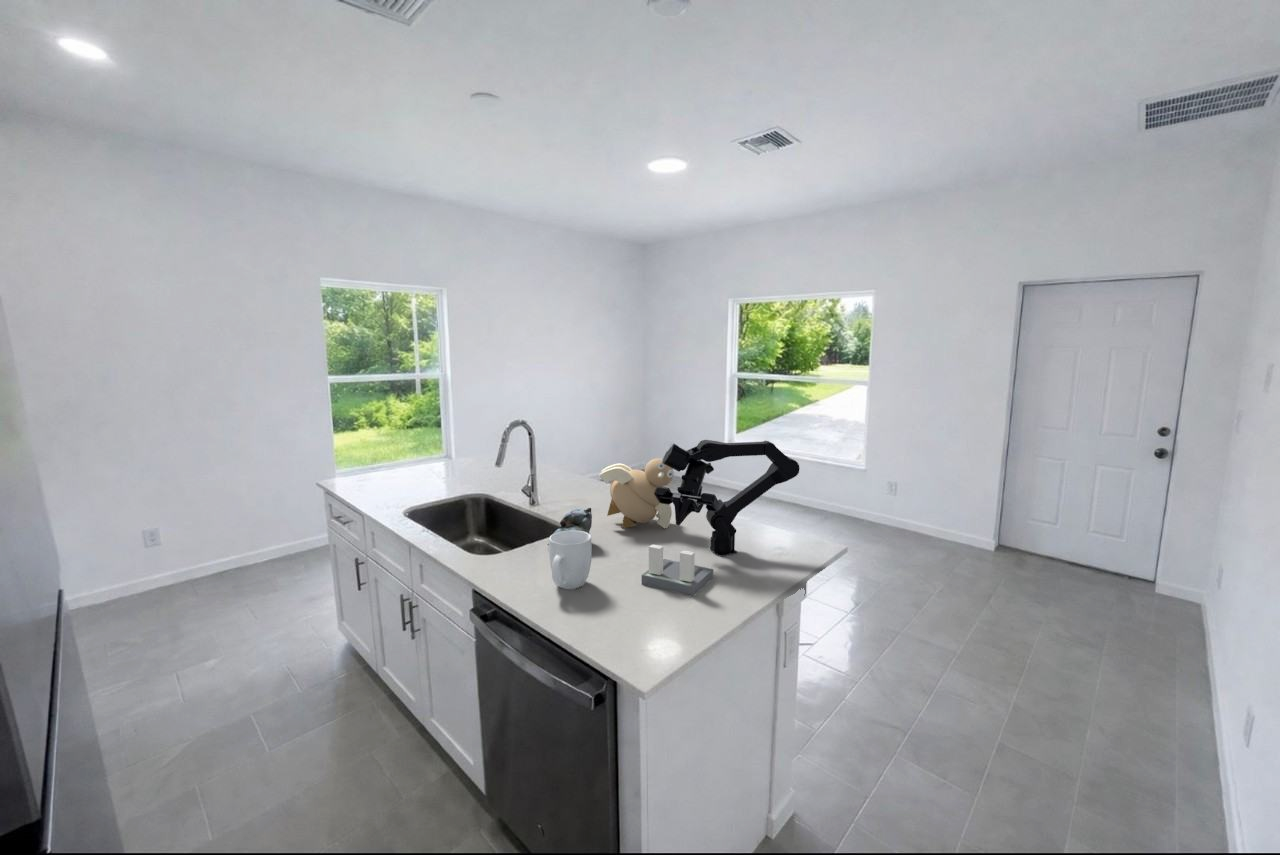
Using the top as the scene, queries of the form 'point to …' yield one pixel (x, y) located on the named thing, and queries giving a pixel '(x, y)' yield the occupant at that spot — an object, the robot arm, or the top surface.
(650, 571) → the block
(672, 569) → the breaker panel
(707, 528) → the top surface
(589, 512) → the lucky cat figurine
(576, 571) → the mug
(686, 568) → the block
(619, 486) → the chick figurine
